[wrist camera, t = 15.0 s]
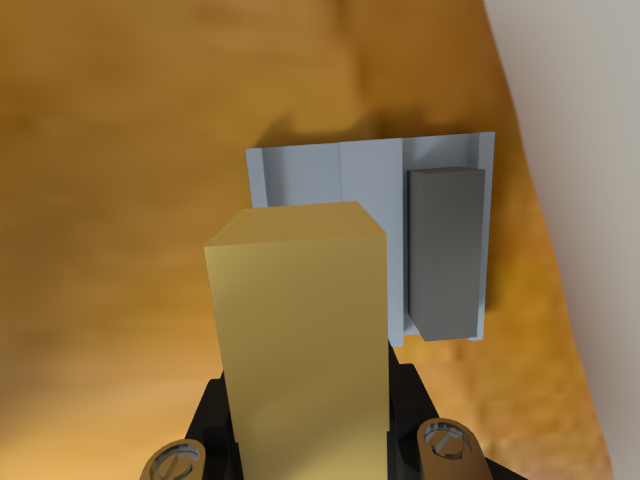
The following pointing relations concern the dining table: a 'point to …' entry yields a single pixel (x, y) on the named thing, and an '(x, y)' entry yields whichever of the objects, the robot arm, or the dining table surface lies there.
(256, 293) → the butter stick
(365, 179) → the slot rack
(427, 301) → the dark gray block
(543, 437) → the dining table surface
